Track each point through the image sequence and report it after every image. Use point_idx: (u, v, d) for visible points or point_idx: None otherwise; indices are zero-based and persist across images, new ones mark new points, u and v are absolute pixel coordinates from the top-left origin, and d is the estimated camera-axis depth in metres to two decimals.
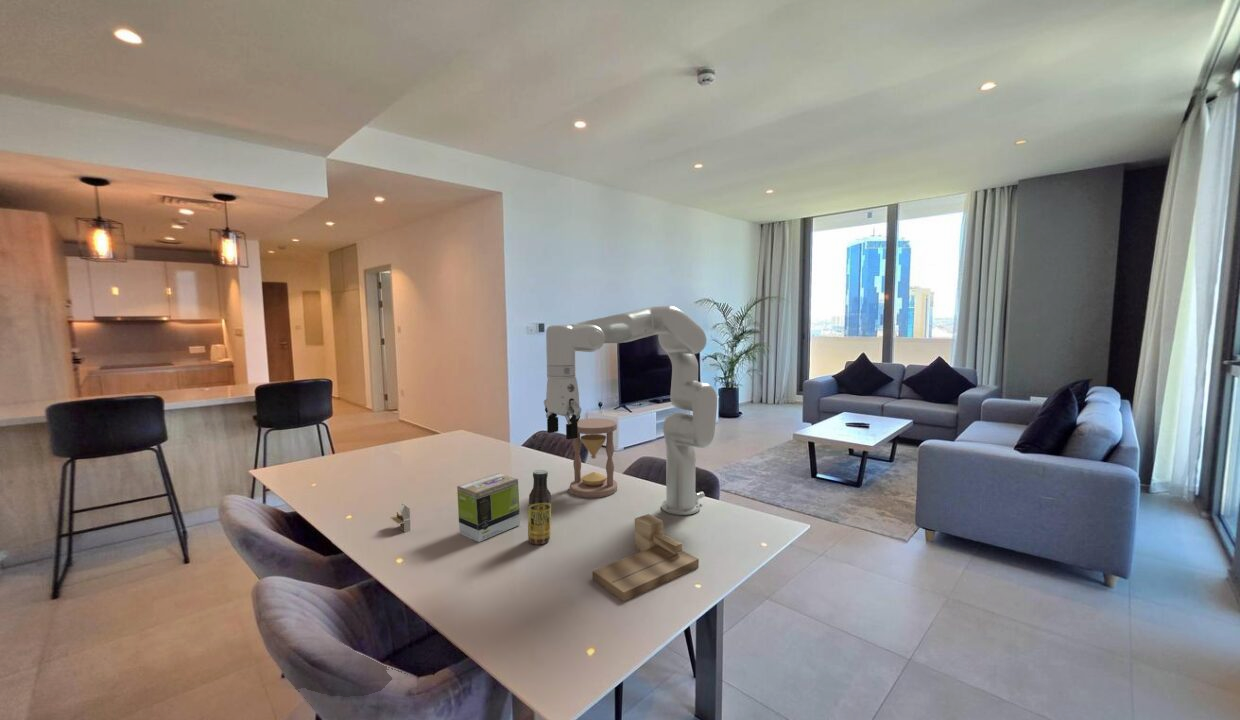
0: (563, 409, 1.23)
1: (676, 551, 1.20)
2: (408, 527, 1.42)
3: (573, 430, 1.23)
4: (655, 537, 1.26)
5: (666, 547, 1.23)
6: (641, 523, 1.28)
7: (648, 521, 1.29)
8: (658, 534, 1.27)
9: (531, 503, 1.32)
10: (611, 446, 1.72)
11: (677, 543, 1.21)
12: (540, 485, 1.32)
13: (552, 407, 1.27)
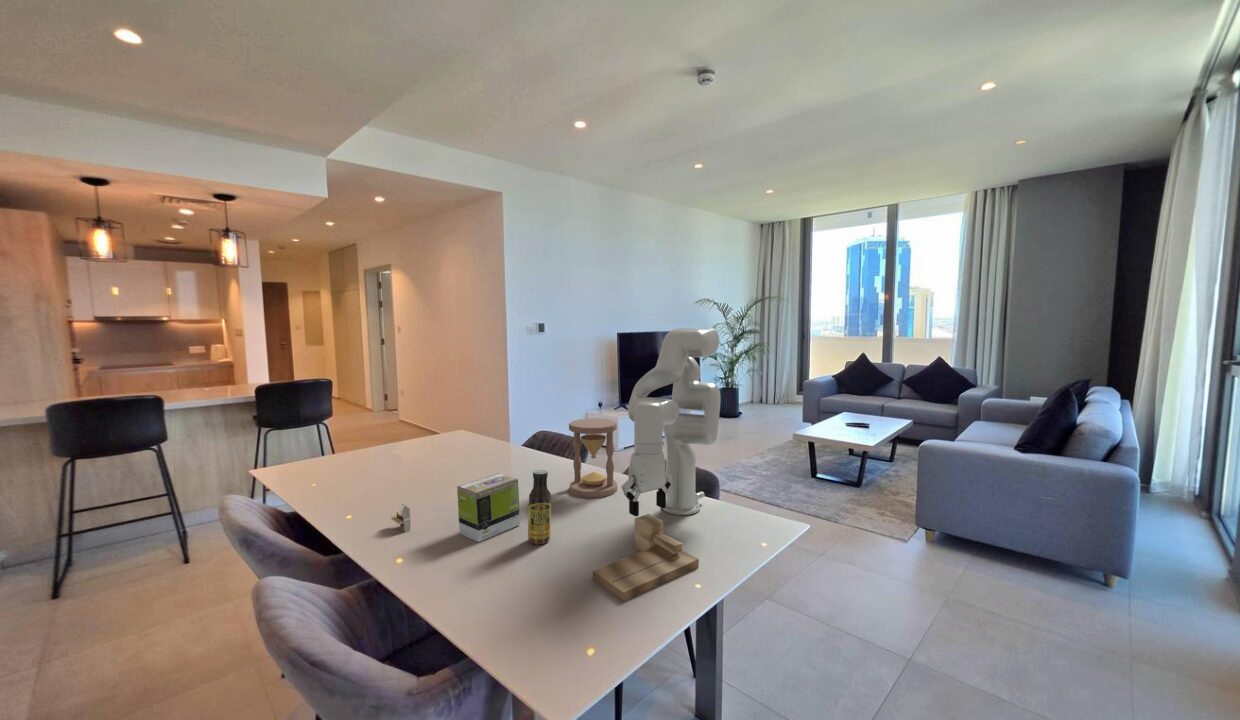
0: (664, 481, 1.29)
1: (676, 551, 1.20)
2: (408, 527, 1.42)
3: None
4: (655, 537, 1.26)
5: (666, 547, 1.23)
6: (641, 523, 1.28)
7: (648, 521, 1.29)
8: (658, 534, 1.27)
9: (531, 503, 1.32)
10: (611, 446, 1.72)
11: (677, 543, 1.21)
12: (540, 485, 1.32)
13: (650, 485, 1.26)
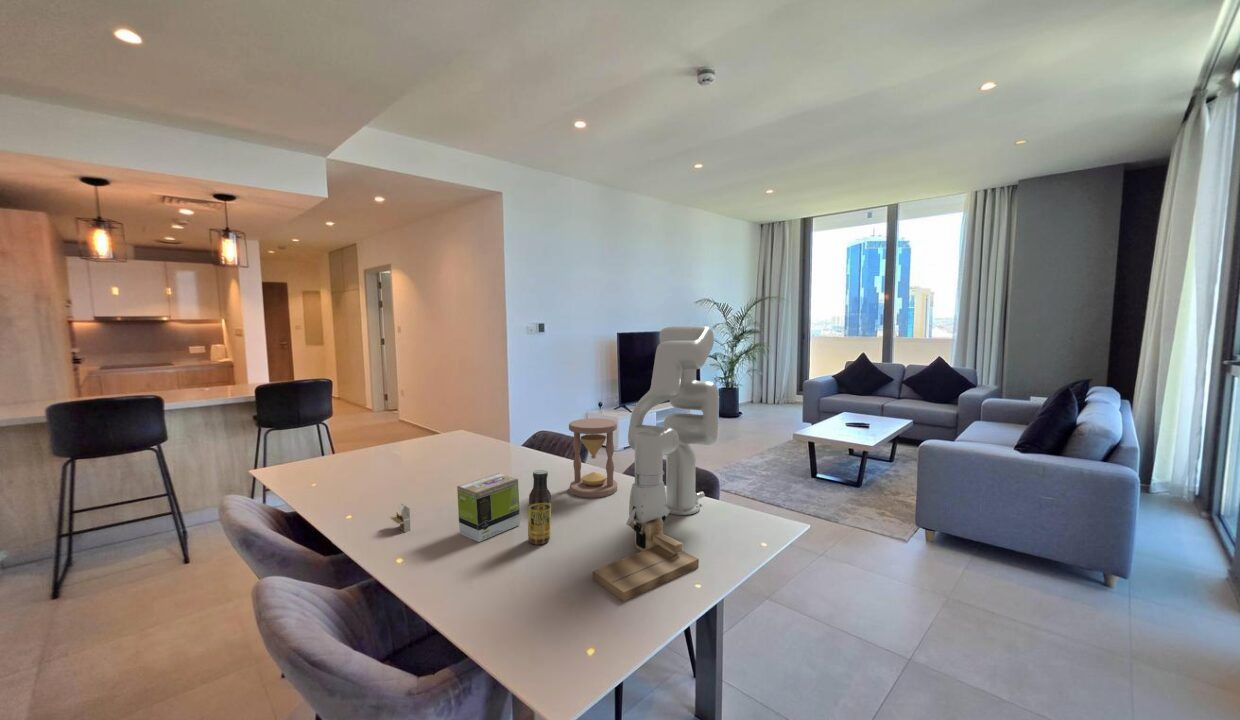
0: (665, 510, 1.30)
1: (676, 551, 1.20)
2: (408, 527, 1.42)
3: None
4: (655, 537, 1.26)
5: (666, 547, 1.23)
6: None
7: None
8: (658, 534, 1.27)
9: (531, 503, 1.32)
10: (611, 446, 1.72)
11: (677, 543, 1.21)
12: (540, 485, 1.32)
13: (651, 515, 1.27)
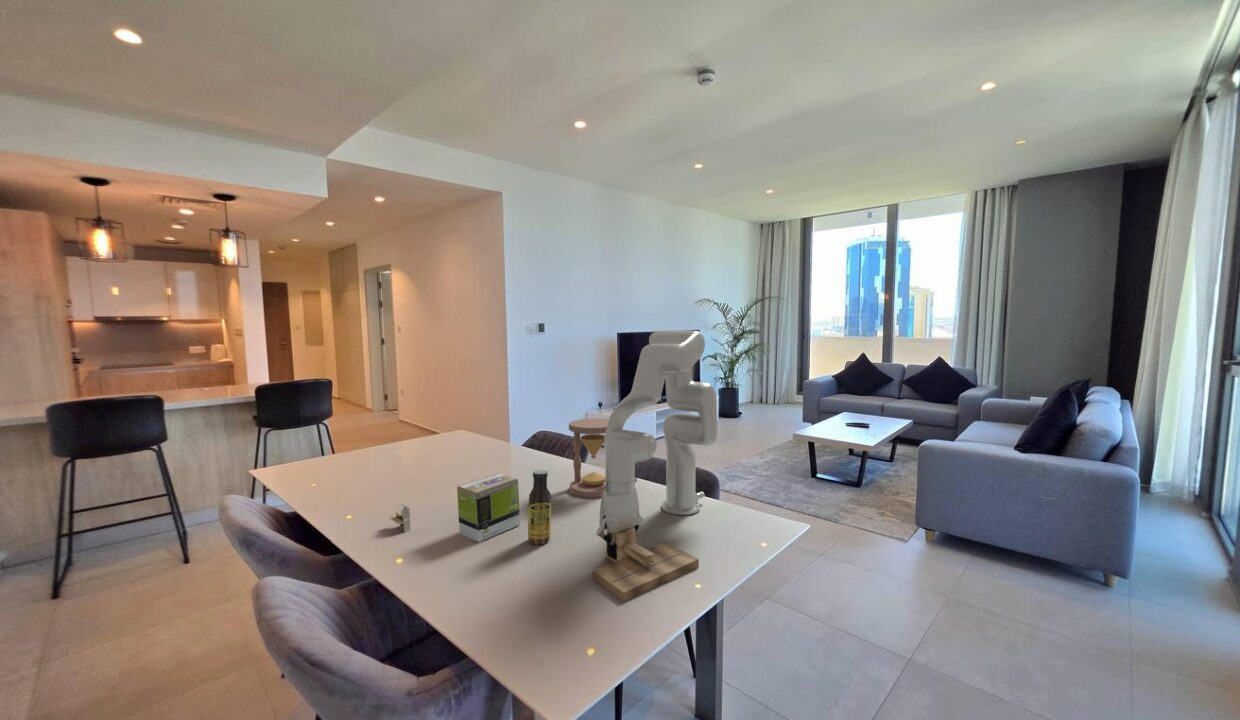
0: (638, 519, 1.24)
1: (647, 562, 1.14)
2: (408, 527, 1.42)
3: None
4: (626, 547, 1.20)
5: (637, 558, 1.17)
6: None
7: None
8: (630, 544, 1.21)
9: (531, 503, 1.32)
10: None
11: (648, 553, 1.15)
12: (540, 485, 1.32)
13: (622, 525, 1.21)
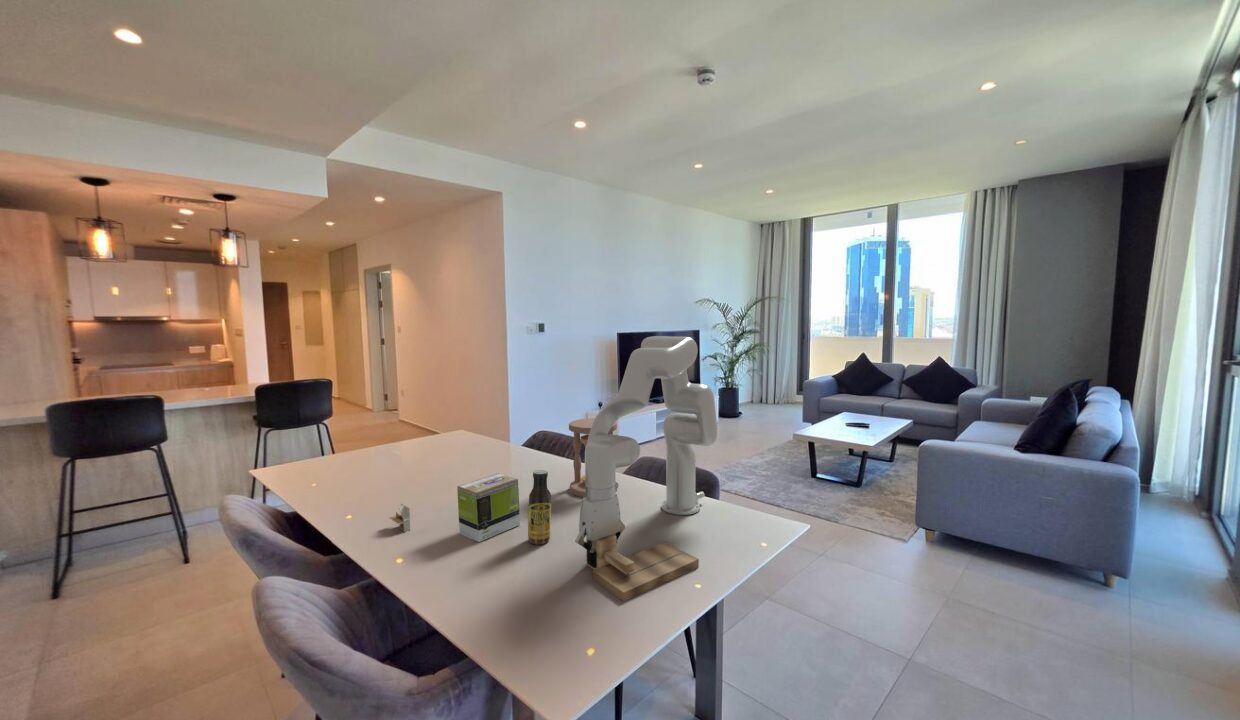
0: (619, 525, 1.21)
1: (627, 571, 1.11)
2: (408, 527, 1.42)
3: None
4: (606, 555, 1.16)
5: (617, 566, 1.13)
6: None
7: None
8: (610, 552, 1.17)
9: (531, 503, 1.32)
10: None
11: (628, 562, 1.12)
12: (541, 485, 1.32)
13: (602, 532, 1.17)
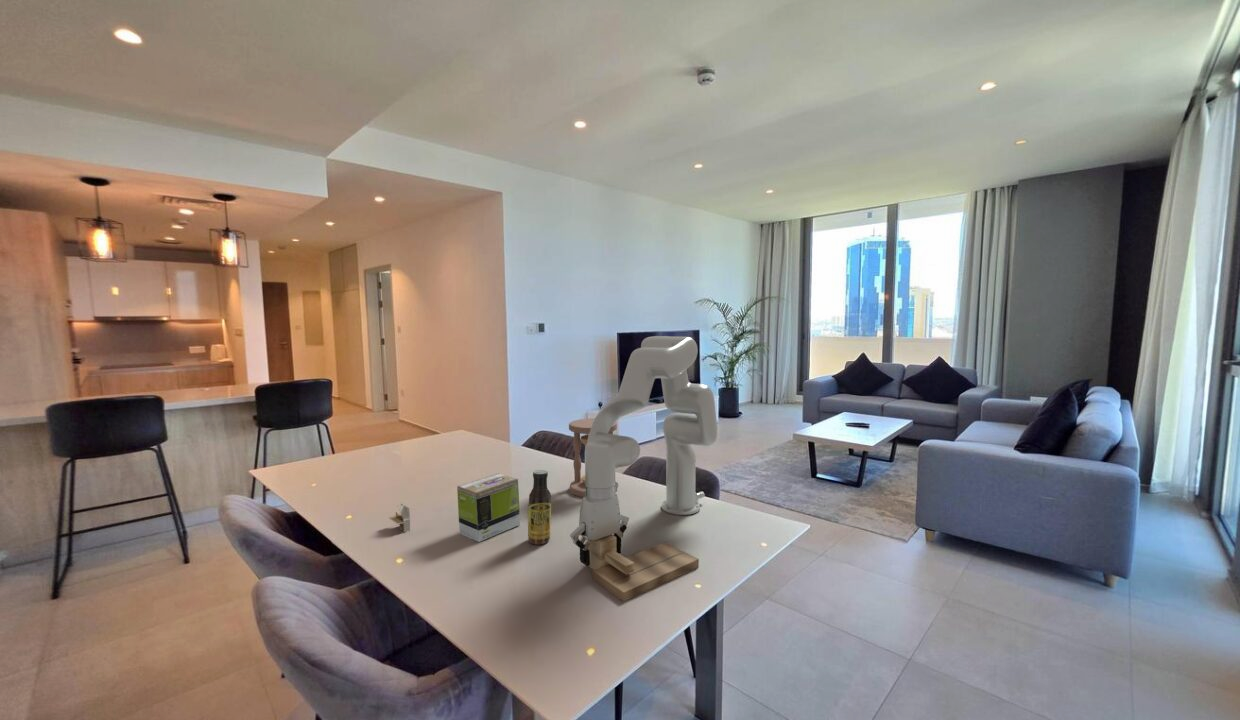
0: (619, 525, 1.21)
1: (627, 571, 1.11)
2: (408, 527, 1.42)
3: None
4: (606, 555, 1.16)
5: (617, 567, 1.13)
6: None
7: None
8: (610, 552, 1.17)
9: (531, 503, 1.32)
10: None
11: (628, 563, 1.12)
12: (540, 485, 1.32)
13: (602, 532, 1.17)
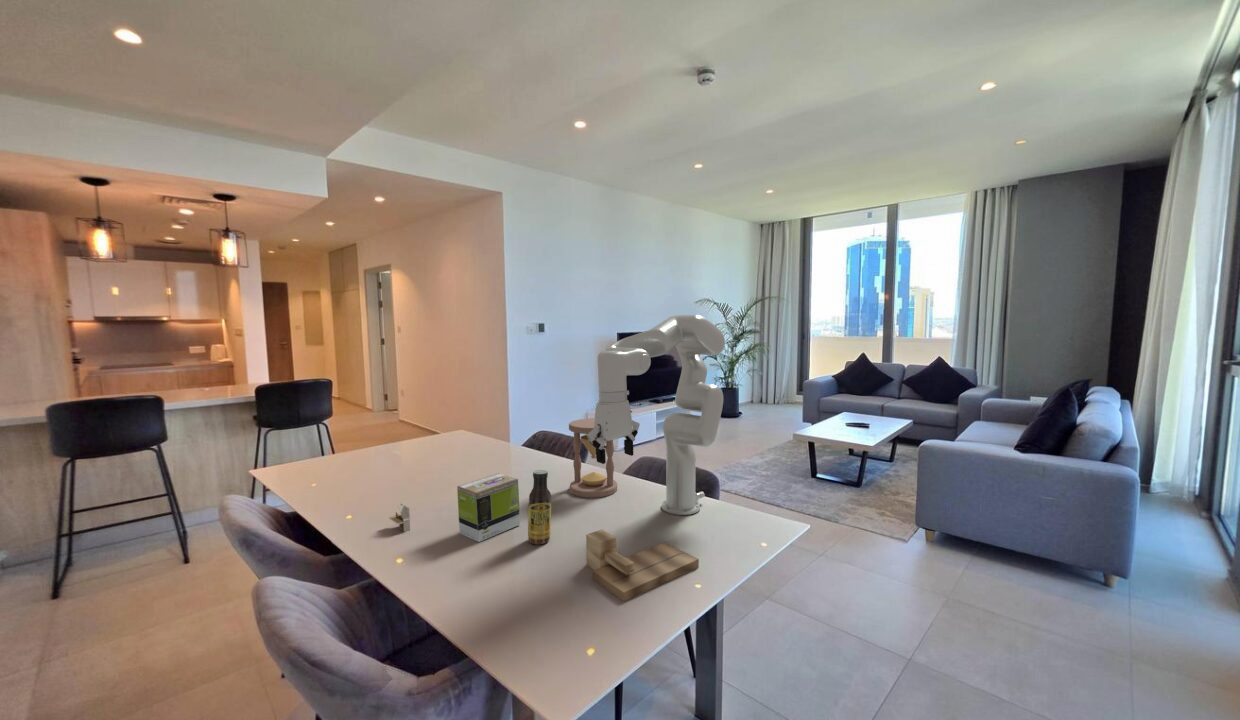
0: (631, 428, 1.31)
1: (627, 571, 1.11)
2: (408, 527, 1.42)
3: None
4: (606, 555, 1.16)
5: (617, 567, 1.13)
6: (592, 539, 1.18)
7: (600, 537, 1.19)
8: (610, 552, 1.17)
9: (531, 503, 1.32)
10: (611, 446, 1.72)
11: (628, 563, 1.12)
12: (541, 485, 1.32)
13: (616, 433, 1.27)
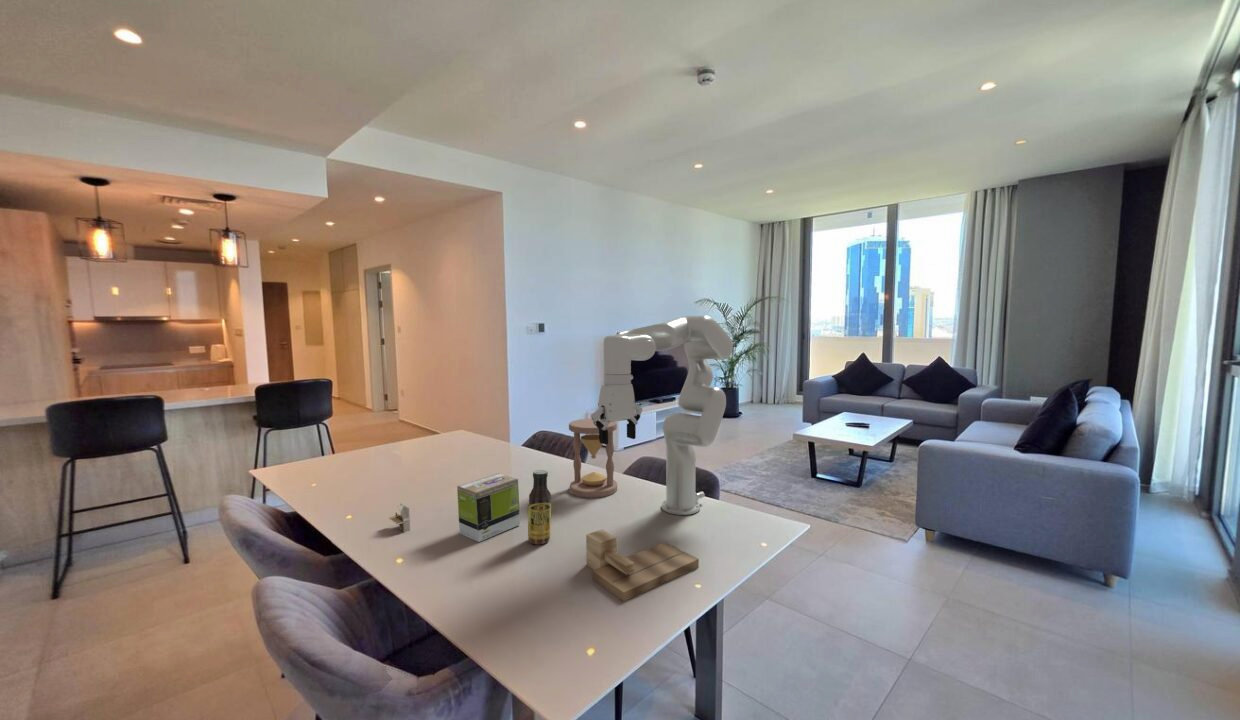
0: (634, 412, 1.34)
1: (627, 571, 1.11)
2: (408, 527, 1.42)
3: None
4: (606, 555, 1.16)
5: (617, 567, 1.13)
6: (592, 539, 1.18)
7: (600, 537, 1.19)
8: (610, 552, 1.17)
9: (531, 503, 1.32)
10: (611, 446, 1.72)
11: (628, 563, 1.12)
12: (540, 485, 1.32)
13: (619, 415, 1.31)
